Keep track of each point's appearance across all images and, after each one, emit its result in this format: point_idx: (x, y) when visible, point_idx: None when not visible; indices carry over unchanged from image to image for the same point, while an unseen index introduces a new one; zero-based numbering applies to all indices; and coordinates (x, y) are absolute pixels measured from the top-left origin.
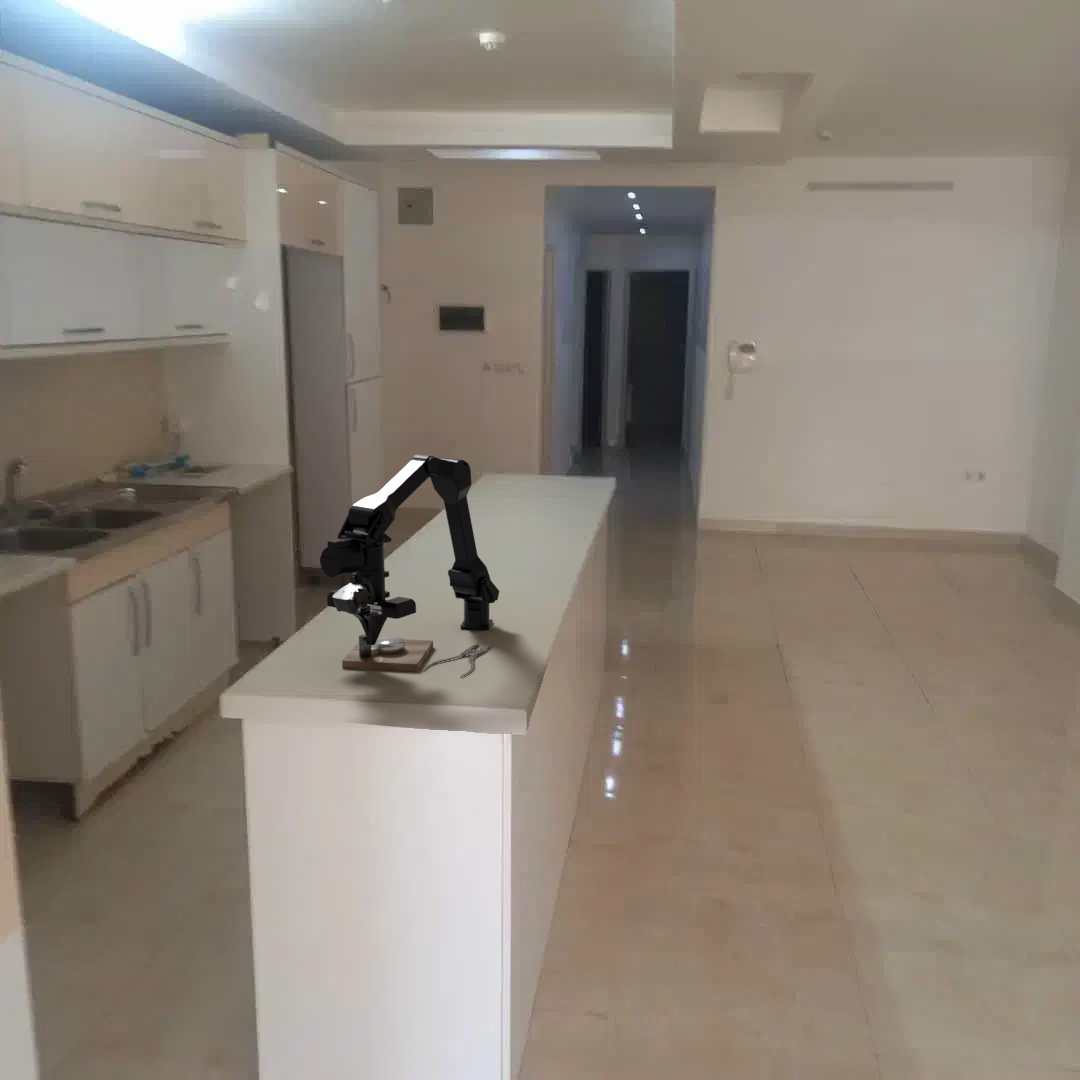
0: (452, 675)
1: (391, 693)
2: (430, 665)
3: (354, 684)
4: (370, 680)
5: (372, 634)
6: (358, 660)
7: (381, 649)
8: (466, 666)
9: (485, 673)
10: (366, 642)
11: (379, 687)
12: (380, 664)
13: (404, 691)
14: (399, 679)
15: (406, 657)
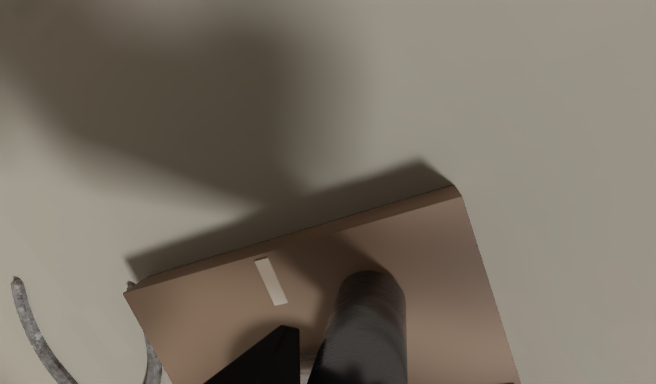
0: (47, 286)
1: (49, 11)
2: (145, 338)
3: (241, 6)
4: (218, 100)
5: (208, 380)
6: (371, 236)
7: (310, 369)
8: (75, 369)
9: (3, 334)
10: (325, 342)
11: (130, 44)
12: (260, 251)
13: (34, 65)
14: (138, 174)
15: (206, 348)
